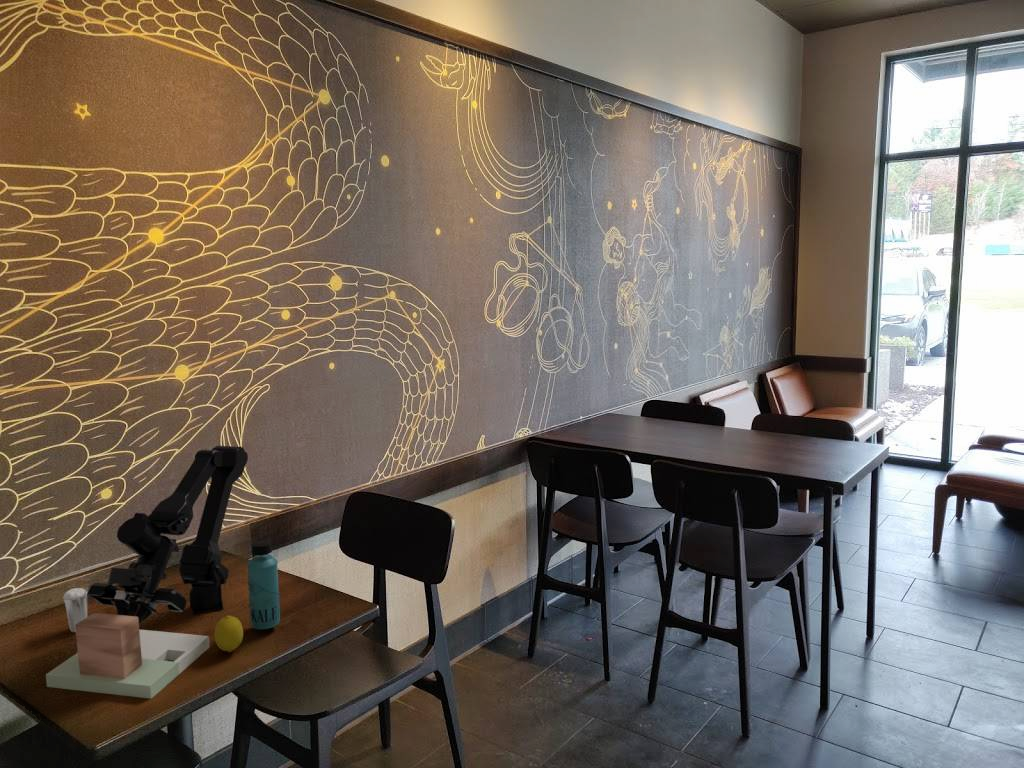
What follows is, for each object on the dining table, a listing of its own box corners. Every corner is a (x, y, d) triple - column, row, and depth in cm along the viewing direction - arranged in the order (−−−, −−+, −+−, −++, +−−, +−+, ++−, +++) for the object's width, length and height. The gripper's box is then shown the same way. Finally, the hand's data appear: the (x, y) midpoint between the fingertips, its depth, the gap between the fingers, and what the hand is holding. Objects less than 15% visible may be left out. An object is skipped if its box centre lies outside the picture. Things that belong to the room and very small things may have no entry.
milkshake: (83, 635, 162) (78, 591, 161) (61, 633, 163) (57, 589, 162) (98, 625, 167) (94, 583, 165) (77, 623, 168) (73, 580, 166)
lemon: (227, 661, 152) (225, 624, 150) (209, 654, 155) (207, 617, 153) (249, 649, 156) (247, 613, 155) (232, 642, 159) (230, 607, 158)
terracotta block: (98, 660, 147) (94, 612, 146) (142, 665, 146) (138, 616, 144) (79, 674, 142) (75, 624, 141) (124, 678, 141) (120, 629, 139)
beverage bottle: (269, 619, 170) (264, 534, 166) (288, 627, 166) (283, 541, 163) (244, 630, 164) (238, 543, 161) (262, 639, 161) (258, 550, 157)
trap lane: (115, 638, 161) (114, 627, 161) (209, 647, 157) (208, 636, 157) (46, 686, 143) (45, 674, 142) (151, 698, 139) (150, 686, 138)
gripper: (88, 544, 150) (51, 622, 141) (173, 551, 147) (141, 630, 138) (119, 566, 159) (85, 640, 150) (199, 573, 156) (170, 649, 147)
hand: (119, 640), depth 146 cm, fingers closed, pressing on terracotta block
